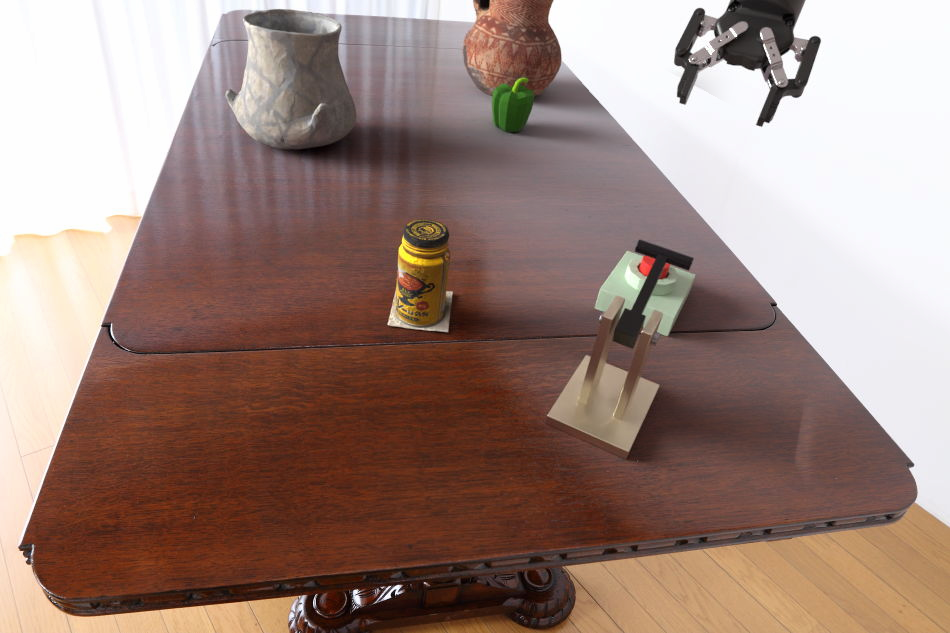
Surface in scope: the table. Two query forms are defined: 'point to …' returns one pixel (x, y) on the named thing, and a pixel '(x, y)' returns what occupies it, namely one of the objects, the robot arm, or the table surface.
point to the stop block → (663, 299)
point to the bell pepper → (512, 105)
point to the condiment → (422, 278)
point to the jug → (512, 45)
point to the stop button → (647, 265)
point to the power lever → (646, 291)
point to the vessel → (293, 81)
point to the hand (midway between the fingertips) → (721, 111)
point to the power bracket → (608, 390)
